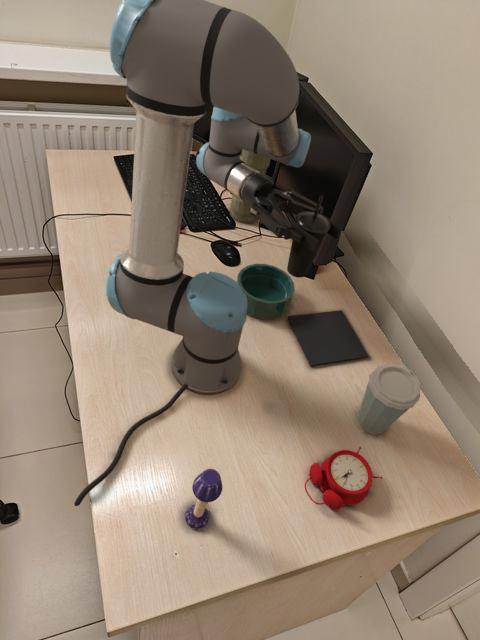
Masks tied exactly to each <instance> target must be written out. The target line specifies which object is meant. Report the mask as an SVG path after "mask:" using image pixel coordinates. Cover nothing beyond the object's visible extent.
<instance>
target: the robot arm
mask: <svg viewBox="0 0 480 640" xmlns="http://www.w3.org/2000/svg"><path fill="white" fill-rule="evenodd" d="M109 39H110V40H109V58H110V61H111V63H112V68H113V70H114V71H115V72H116V74H117V75H119V77H120V78H122V79H125V80H126V91H125V92H126V94H125V96H126V99H127V101H128V102H129V104H130V105H132V107H133V108H134V110H135V111H136V112H135V113H136V114H135V133H134V151H133V152H134V153H133V169H132V189H131V191H132V193H131V211H130V228H129V229H130V230H129V246H127V247H125V248H124V249H123V250H122V251H121V253H120V254H119V255H118V256H116V257H115V258H114V260H113V261H112V262H111V264H110V267H109V270H108V277H107V278H106V284H105V289H106V290H105V292H106V298H107V301H108V304H109V305H110V307H111V308H112V309H113V310H114V311H115V312H116V313H119V314H121V315H124V316H125V317H127V318H129V319H131V320H136V321H139V322H142V323H145V324H148V325H150V326H153V327H157V328H159V329H161V330H164V331H167V332H170V333H173V334H175V335H179V336H181V337H182V339H181V340H180V342H179V343H178V345H177V346H176V348H175V349H174V351H173V354H172V357H171V365H170V367H171V373H172V376H173V377H174V379H175V380H176V382H177V383H178V384H179V385H180V386H181V387H180V388H179V389H178V390H177V391H176V393H175V394H174V395H173V396H172V398H170V400H169V401H168V402H167V403H166V404H164V405H163V406H162V407H160V408H159V409H158V410H156V411H154V412H152V413H150V414H148V415H146V416H145V417H142V418H141V419H139V420H138V421H136V422H135V423H134V424H133V425H132V426H131V427H130V428H129V429H128V430H127V431H126V432H125V434H124V436H123V438H122V439H121V442H120V444H119V445H118V448H117V451H116V453H115V456H114V458H113V459H112V461H111V463H110V464H109V465H108V467H107V468H106V469H105V470H104V471H103V472H102V473H101V474H100V475H99V476H97V477H96V478H95V479H94V480H92V481H91V482H90V483H89V484H87V486H86V487H85V488H83V490H82V491H81V492H80V493H79V494H78V495H77V498H76V499H75V501H74V503H73V505H74V506H75V507H78V506H80V505H81V503H82V502H83V500H84V499H85V497H86V496H88V494H89V493H90V491H92V490H94V488H95V487H97V486H98V485H99V484H100V483H102V482H103V481H104V480H105V479H106V478H108V477H109V475H111V473H112V472H113V471H114V470H115V468H116V466H117V465H118V464H119V461H120V460H121V458H122V455H123V452H124V450H125V447H126V445H127V443H128V441H129V439H130V437H131V436H132V435H133V434H134V432H135V431H136V430H138V428H140V427H141V426H142V425H144V424H146V423H147V422H149V421H151V420H154V419H155V418H157V417H158V416H161V415H162V414H164V413H165V412H167V411H168V410H169V409H170V408H171V407H173V405H174V404H175V403H176V402H177V400H178V399H179V398H180V397H181V396H182V394H184V392H185V391H186V390H187V391H188V392H191V393H193V394H197V395H201V396H216V395H220V394H223V393H225V392H228V391H229V390H230V389H232V388H233V387H234V386H235V385H236V384H237V383H238V381H239V379H240V375H241V372H242V358H241V355H240V350H239V345H240V341H241V336H242V333H243V329H244V326H245V323H246V322H247V314H246V312H247V297H246V294H245V293H244V292H243V289H242V287H241V286H240V285H239V284H238V283H237V282H236V281H237V280H235V279H233V278H232V277H230V276H228V275H227V274H224V273H220V272H218V271H217V272H216V271H209V272H208V273H207V271H203V272H201V273H198V274H196V275H194V276H191V275H189V274H186V273H184V267H185V261H184V260H183V257H182V256H181V255H180V254H179V252H178V251H179V245H180V244H179V243H180V235H181V229H182V220H183V213H184V212H183V211H184V205H185V198H186V190H187V183H188V174H189V165H190V159H191V158H190V157H191V151H192V143H193V142H192V141H193V135H194V128H195V123H196V122H197V121H199V120H200V119H201V118H203V117H204V116H205V115H206V114H207V107H208V106H210V107H212V115H211V116H210V117H211V120H210V121H211V122H210V132H209V142H206V143H205V144H203V145H202V146H201V147H200V148H199V151H198V152H199V153H198V154H197V155H196V160H195V162H196V168H197V169H198V170H199V172H201V174H203V175H204V176H206V178H207V179H208V180H210V181H212V182H213V183H215V184H217V185H218V186H219V187H221V188H223V189H224V190H226V191H227V192H228V193H229V194H231V195H232V194H233V195H234V196H236V197H237V198H238V199H240V200H241V201H243V202H244V203H245V204H246V205H248V206H249V207H251V211H250V215H251V216H253V217H255V218H257V219H256V220H258V221H259V222H260V223H261V224H263V225H264V227H265V228H267V229H268V230H269V231H270V232H271V233H272V234H274V235H275V236H276V237H277V238H278V239H281V238H283V239H284V240H285V241H287V240H290V238H291V239H292V240H293V239H294V240H295V241H296V242H298V243H301V244H302V245H304V246H305V247H307V248H308V249H309V250H311V251H312V252H316V250H317V247H318V245H319V242H320V241H319V240H318V239H316V238H315V237H313V236H312V235H310V234H309V233H307V232H306V231H305V230H303V229H302V228H300V227H299V226H297V225H296V224H295V225H293V224H292V223H291V221H290V220H289V219H288V218H287V216H286V215H285V213H286V214H289V213H291V214H294V215H296V216H297V215H298V214H299V213H301V212H314V213H315V210H316V207H317V204H318V202H315V201H313V200H311V199H309V198H308V197H305V196H304V195H302V194H300V193H298V192H296V191H295V190H294V189H293V188H291V187H288V188H287V191H282V190H279V189H277V188H276V186H275V184H274V182H273V180H272V179H271V178H269V177H267V176H266V175H265V176H264V175H263V174H261V173H259V171H257V170H256V169H254V168H252V167H251V166H249V165H248V164H246V163H245V162H243V161H242V160H241V159H240V154H241V151H242V149H243V150H246V151H249V152H252V153H255V154H258V155H261V156H264V157H267V158H270V160H272V161H275V162H278V163H280V164H284V165H285V166H290V167H294V168H301V167H302V166H303V165H304V162H305V160H306V158H307V155H308V152H309V150H310V145H311V141H312V135H311V134H310V133H309V132H307V131H305V130H303V129H302V128H298V122H297V121H298V120H297V112H296V111H297V110H296V109H297V107H298V105H299V101H300V93H301V92H300V91H301V90H300V80H299V76H298V72H297V70H296V67H295V65H294V63H293V61H292V59H291V57H290V55H289V54H288V53H287V51H286V50H285V48H284V46H283V45H282V44H281V43H280V42H279V40H278V39H277V38H276V37H275V36H274V35H273V34H272V33H271V32H270V30H268V29H267V28H266V26H264V25H263V24H262V23H260V22H259V21H258V20H257V19H255V18H253V17H251V16H250V15H248V14H246V13H244V12H241V11H238V10H236V9H231V8H228V7H225V6H222V5H219V4H216V3H213V2H210V1H208V0H121V2H120V4H119V5H118V7H117V10H116V12H115V14H114V18H113V21H112V26H111V31H110V37H109ZM323 211H324V206H322V205H320V208H319V211H318V214H320V215H322V216H323V217H325V218H326V219H327V220H328V221H329V223H330V229H329V231H328V232H327V233H326V234H328V235H329V236H331V237H332V238H334V239H335V240H339V238H340V236H341V234H342V231H343V227H342V226H340V225H339V224H337V223H336V222H334V221H332V219H330V218H329V217H327V216H326V215H324V214H323Z"/></svg>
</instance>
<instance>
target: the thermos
mask: <svg viewBox="0 0 480 640" xmlns="http://www.w3.org/2000/svg"><path fill="white" fill-rule="evenodd" d="M240 159H241V160H242V161H243V162H245V163H246V164H248V165H249V166H251V167H252V168H254V169H256V170H257V171H259V173H261V174H263V175H264V176H266V173H267V169H268V168H269V167H270V165H271V164H270V163H271V159H270V158H267V157H264V156H261V155H258V154H255V153H252V152H249V151H246V150H243V149H242V151H241V154H240ZM250 211H251V207H249V206H248V205H246V204H245V203H244V202H243V201H241V200H240V199H238V198H237V197H236V196H234V195H233V194H231V200H230V209H229V216H230V217H231V218H232V219H233V220H234V221H236V222H237V223H241V224H252V223H254V222H256V221H257V220H258V219H257V218H255V217H253V216H251V215H250Z"/></svg>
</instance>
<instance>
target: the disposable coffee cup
mask: <svg viewBox="0 0 480 640" xmlns="http://www.w3.org/2000/svg"><path fill="white" fill-rule="evenodd" d="M420 398H421V382H420V379H419V378H418V376H417V375H416V374H415V373H414V372H413V371H412V370H411V369H409V368H408V367H406V366H405V365H402V364H397V363H394V362H391V363H385V364H382V365H378V366H377V367H376V368H375V369H374V370H373V371H372V372H370V374H369V375H368V383H367V385H366V388H365V391H364V395H363V398H362V401H361V403H360V407H359V409H358V410H359V411H358V415H357V421H358V423H359V426H360V427H361V429H363V430H364V431H365V432H366V433H370V434H372V435H377V434H381V433H384V432H385V431H386V430H387V429H388V428H390V427H391V426H392V425H393V424H394V423H395V422H396V421H397V420H399V418H401V417H402V416H403V415H404V414H405V413H407V411H409V410H410V409H412V408H414V407H415V406H416V404H418V402H419V401H420Z"/></svg>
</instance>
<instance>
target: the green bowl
mask: <svg viewBox="0 0 480 640" xmlns="http://www.w3.org/2000/svg"><path fill="white" fill-rule="evenodd" d="M235 281H236V282H237V283H238V284H239V285H240V286H241V287H242V289H243V292H244V293H245V294H246V297H247V312H246V315H248V316H250V317H252V318H257V319H260V320H275V319H279V318H282V317H283V315H285V314H286V313H288V311H289V308H290V305H291V303H292V300H293V296H294V293H295V290H296V288H295V282H294V281H293V279H292V277H291V275H290V274H289V273H287V272H285V271H284V270H283V269H282V268H279V267H277V266H275V265H271V264H267V263H253V264H249V265H246V266H245V267H243V268H241V269H240V271H239V272H238V274H237V277H236V280H235Z"/></svg>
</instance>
